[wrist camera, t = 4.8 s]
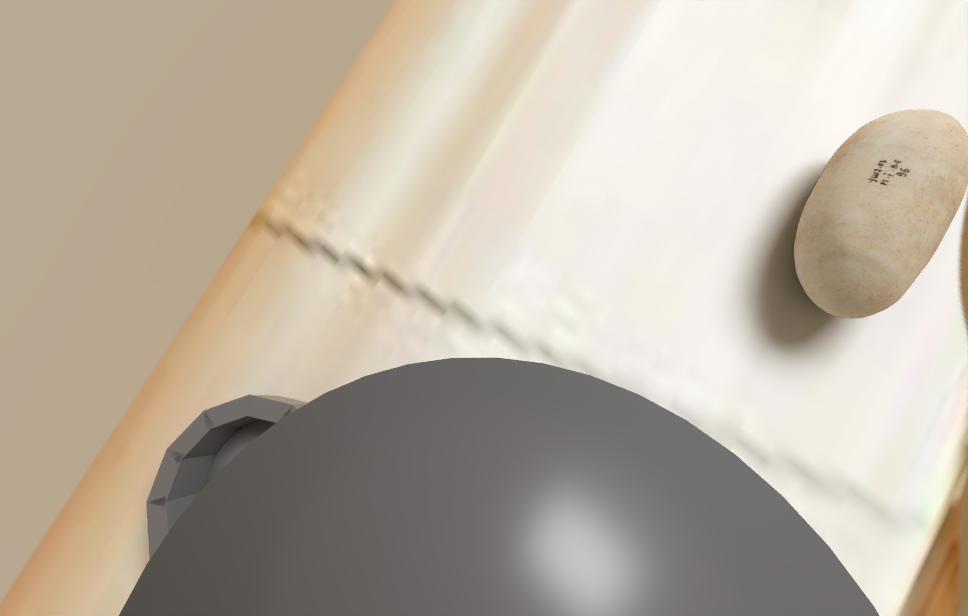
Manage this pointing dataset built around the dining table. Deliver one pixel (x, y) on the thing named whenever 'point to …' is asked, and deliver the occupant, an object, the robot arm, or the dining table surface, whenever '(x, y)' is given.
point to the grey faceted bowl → (207, 455)
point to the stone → (880, 211)
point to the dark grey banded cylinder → (490, 510)
